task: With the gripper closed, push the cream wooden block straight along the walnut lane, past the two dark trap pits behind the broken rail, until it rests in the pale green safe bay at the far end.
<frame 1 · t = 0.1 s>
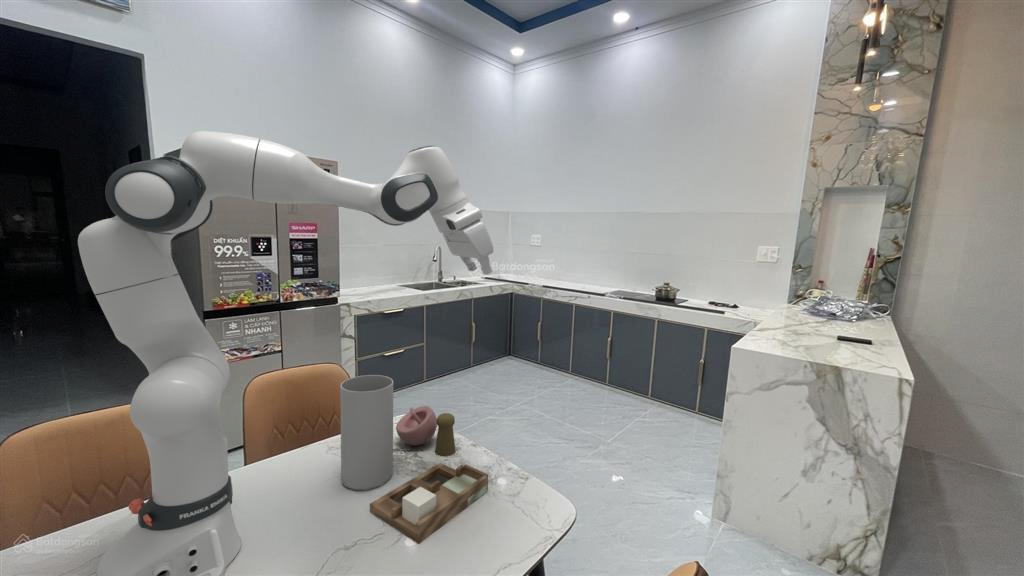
hand: (480, 271, 96), 54 cm above the table, tool tilted 30°, fingers open, 8 cm apart
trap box: (433, 503, 96), on the table
block: (419, 515, 88), point 2 cm above the table, touching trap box
mortar and pestle: (416, 443, 124), on the table
cylinder vase: (367, 477, 105), on the table
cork: (445, 451, 120), on the table
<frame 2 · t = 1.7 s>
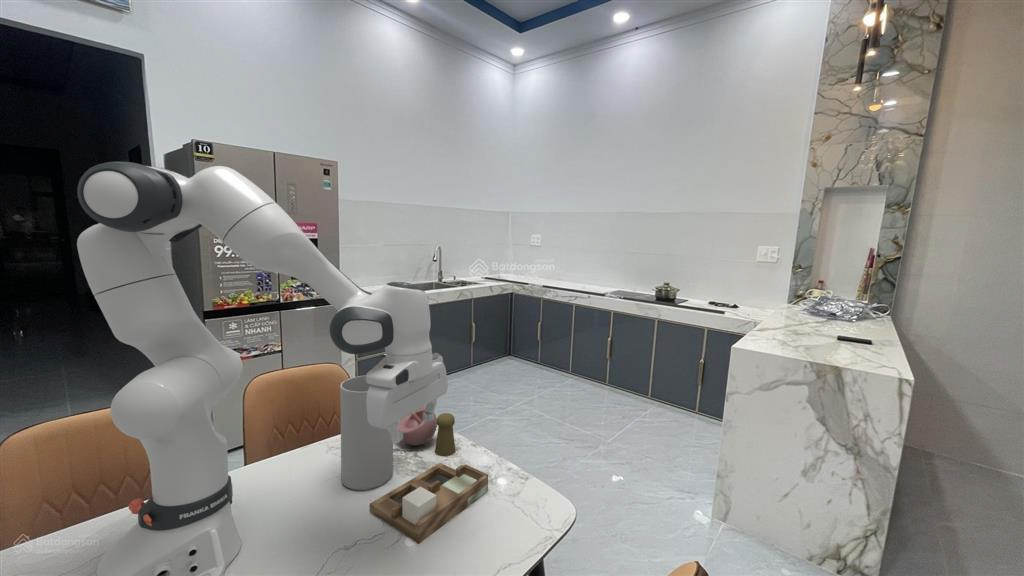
hand: (413, 430, 82), 23 cm above the table, tool pointing down, fingers open, 8 cm apart
nothing on the table moved.
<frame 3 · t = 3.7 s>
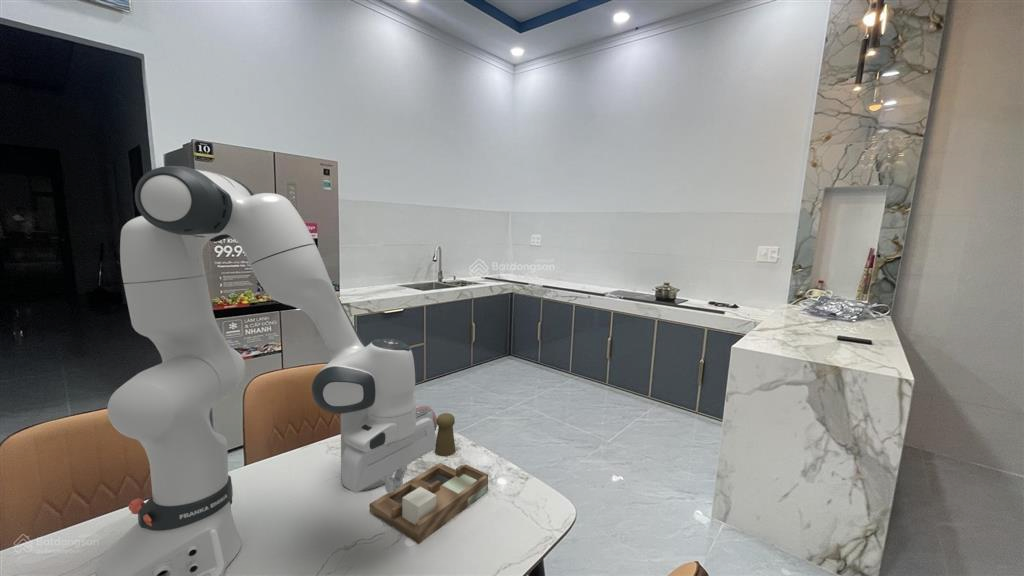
hand: (394, 489, 81), 12 cm above the table, tool pointing down, fingers closed
nothing on the table moved.
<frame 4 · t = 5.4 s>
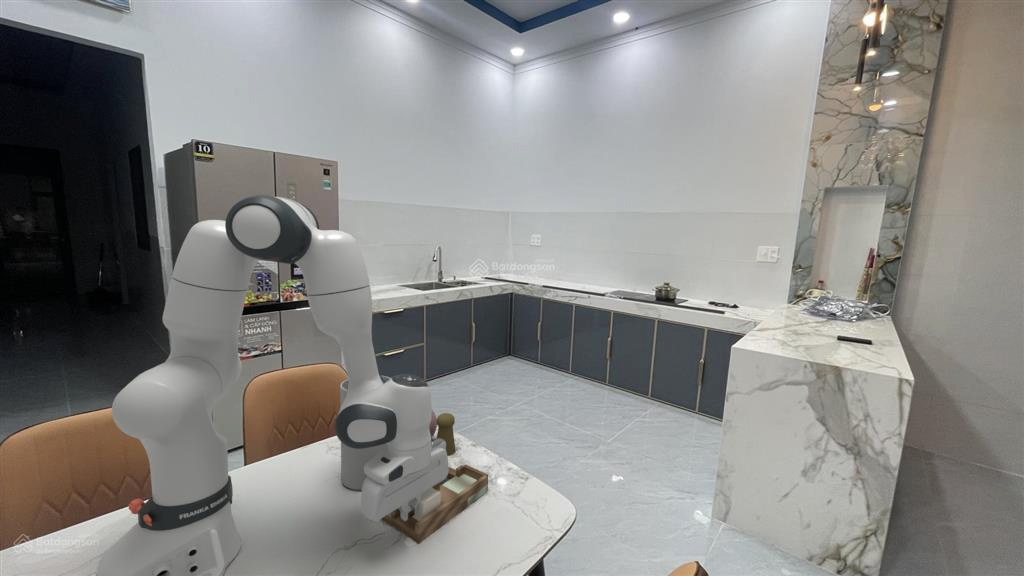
hand: (408, 516, 85), 4 cm above the table, tool pointing down, fingers closed
block: (424, 512, 89), point 2 cm above the table, touching gripper, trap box
everything else where it was.
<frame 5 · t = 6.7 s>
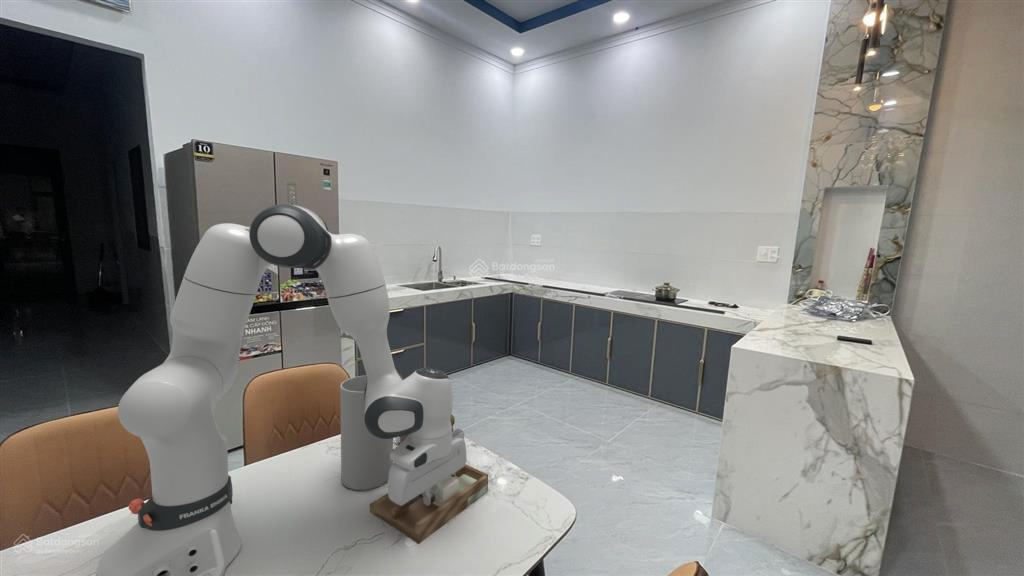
hand: (430, 502, 90), 4 cm above the table, tool pointing down, fingers closed
block: (443, 499, 94), point 2 cm above the table, touching gripper, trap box
everything else where it was.
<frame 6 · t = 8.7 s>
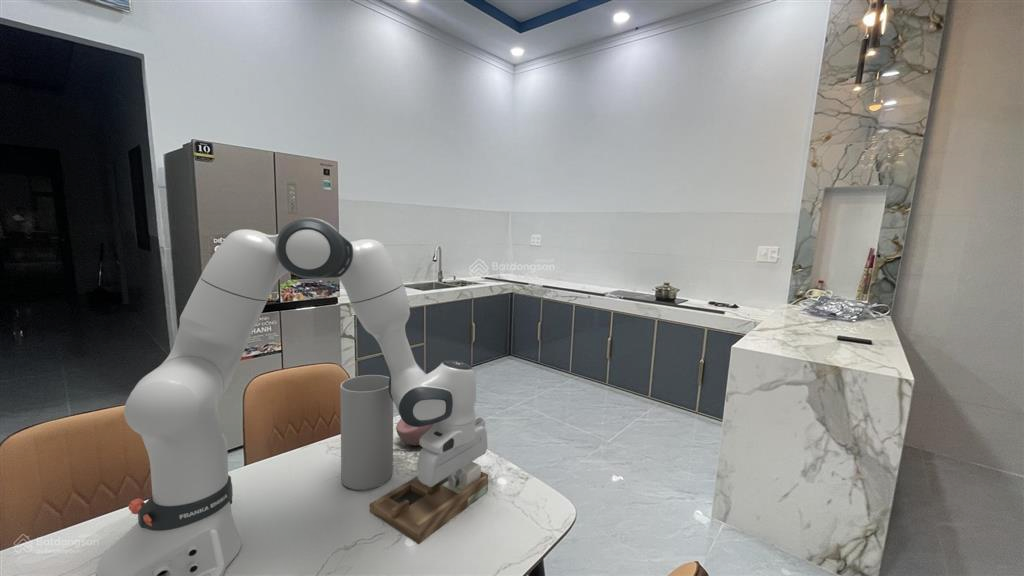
hand: (454, 485, 97), 4 cm above the table, tool pointing down, fingers closed
block: (466, 483, 101), point 2 cm above the table, touching gripper, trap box
everything else where it was.
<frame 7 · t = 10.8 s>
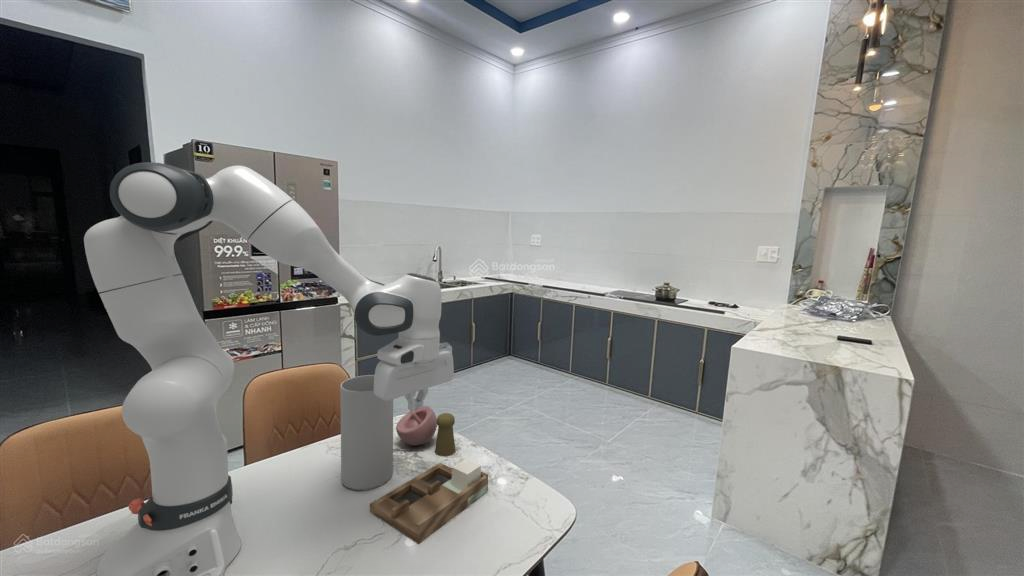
hand: (415, 408, 91), 24 cm above the table, tool pointing down, fingers closed
block: (466, 483, 101), point 2 cm above the table, touching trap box
everything else where it was.
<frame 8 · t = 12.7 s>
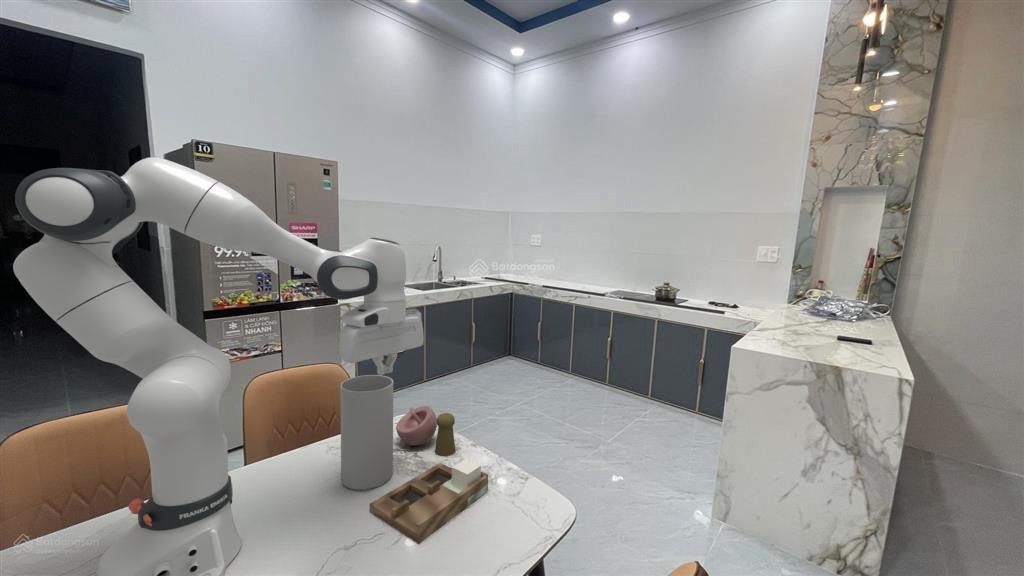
hand: (385, 373, 92), 31 cm above the table, tool pointing down, fingers closed
nothing on the table moved.
at the end: block inside the target area on the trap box (0.6 cm from its centre), point 2.0 cm above the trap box's base; block tilted 0° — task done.
